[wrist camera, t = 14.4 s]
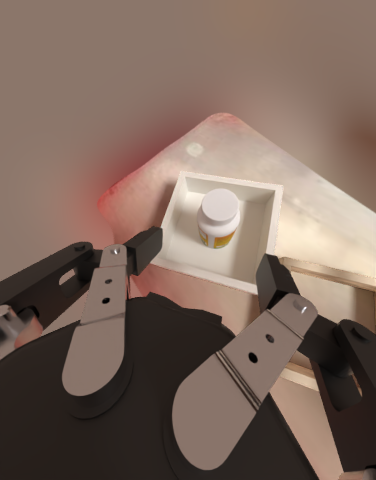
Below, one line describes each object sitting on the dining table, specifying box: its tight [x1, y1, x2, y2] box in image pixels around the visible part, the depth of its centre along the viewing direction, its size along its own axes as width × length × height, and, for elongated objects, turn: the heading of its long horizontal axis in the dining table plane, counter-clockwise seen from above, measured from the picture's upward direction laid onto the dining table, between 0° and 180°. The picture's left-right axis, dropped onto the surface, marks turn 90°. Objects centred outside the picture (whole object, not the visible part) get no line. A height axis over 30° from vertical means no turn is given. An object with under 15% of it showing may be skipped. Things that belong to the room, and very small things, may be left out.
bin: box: [150, 171, 284, 296], centre depth 24 cm, size 16×16×5 cm
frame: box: [278, 257, 376, 396], centre depth 19 cm, size 14×14×3 cm
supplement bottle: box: [197, 188, 240, 249], centre depth 20 cm, size 5×5×10 cm
